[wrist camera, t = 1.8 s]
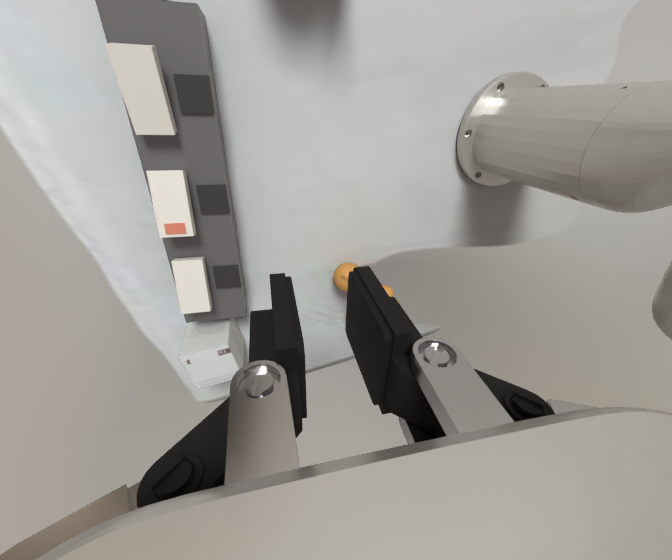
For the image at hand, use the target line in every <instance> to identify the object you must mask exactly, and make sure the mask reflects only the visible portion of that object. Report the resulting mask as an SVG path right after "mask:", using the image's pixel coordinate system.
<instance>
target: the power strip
mask: <svg viewBox="0 0 672 560" xmlns="http://www.w3.org/2000/svg"><path fill="white" fill-rule="evenodd" d="M95 1H96V4H97V8H98V11H99V15H100V18H101V22H102V25H103V29H104V33H105V36H106V40H107V43H123V44H139V45H155V47H156V51H157V55H158V59H159V63H160V67H161V70H162V74H163V78H164V82H165V86H166V90H167V93H168V97H169V101H170V105H171V109H172V113H173V116H174V120H175V124H176V128H177V132H176V134H175V135H136V133H135V130H134V127H133V124H132V122H131V119H130V116H129V113H128V110H127V107H126V104H125V107H126V111H127V114H128V118H129V121H130V125H131V128H132V132H133V135H134V139H135V143H136V146H137V150H138V153H139V157H140V160H141V164H142V167H143V171H144V174H145V178H146V182H147V185H148V189H149V192H150V187H149V182H148V178H147V173H146V171H161V170H185V171H186V175H187V181H188V187H189V193H190V199H191V205H192V211H193V217H194V223H195V229H196V235H194V236H184V237H166V238H163V242H164V245H165V249H166V253H167V256H168V260H169V263H170V267H171V270H172V274H173V277H174V273H173V268H172V263H171V261H172V260H174V259H177V258H192V257H204V259H205V265H206V271H207V277H208V283H209V289H210V295H211V302H212V309H211V311H208V312H198V313H189V314H184V316H185V320H186V323H188V322H198V321H207V320H216V319H225V318H234V317H244V316H246V293H245V286H244V279H243V272H242V265H241V259H240V252H239V245H238V238H237V232H236V225H235V218H234V211H233V204H232V198H231V191H230V184H229V177H228V170H227V164H226V157H225V150H224V143H223V137H222V130H221V123H220V116H219V109H218V103H217V96H216V89H215V82H214V76H213V69H212V62H211V55H210V48H209V42H208V35H207V28H206V21H205V16H204V14H203V12H202V11H201V9H200V8H199V6H198V4H195V3H184V2H173V1H162V0H95ZM123 100H124V99H123ZM124 103H125V101H124ZM150 196H151V192H150ZM151 199H152V197H151ZM152 203H153V202H152ZM174 281H175V278H174ZM175 284H176V283H175Z"/></svg>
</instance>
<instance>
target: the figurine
mask: <svg viewBox="0 0 672 560" xmlns="http://www.w3.org/2000/svg"><path fill="white" fill-rule="evenodd" d="M354 267H358V266H357V265H355V264H353V263H344V264H342V265H340V266H339V267H338V268H337V269H336V270H335V273H334V282H335V284H336V286H337V287H338V288H339V289H340V290H342V291H345V292H348V275H349V272H350V271H353V269H354ZM382 286H383V288H384V289H385V291H386V292H387V293H388V295H389V296H390V297H393V296H394V292H393V290H392V289H391V287H389V286H387V285H382ZM398 303H399V302H398Z"/></svg>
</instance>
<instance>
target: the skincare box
mask: <svg viewBox="0 0 672 560" xmlns="http://www.w3.org/2000/svg"><path fill="white" fill-rule="evenodd" d="M244 346H245V340H244V338H243V336H242V334H241V331H240V329H239V327H238V325H237V322H236V320H235V318H225V319H216V320H207V321H198V322H189V323H188V326H187V330H186V333H185V337H184V340H183V343H182V347H181V350H180V353H179V356H178V359H179V360H180V362H181V364H182V365H183V367H184V368H185V370H186V371H187V373H188V374H189V376H190V377H191V379H192V381H193V382H194V384H195V386H196V387H197V389H202V388H205V387H209V386H212V385H216V384H219V383H223V382H226V381H230V380H232V378H233V376H234V375H235V373H236V372H237V371H238V370H239V369H240V368H241V367H243V366H244Z"/></svg>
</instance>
